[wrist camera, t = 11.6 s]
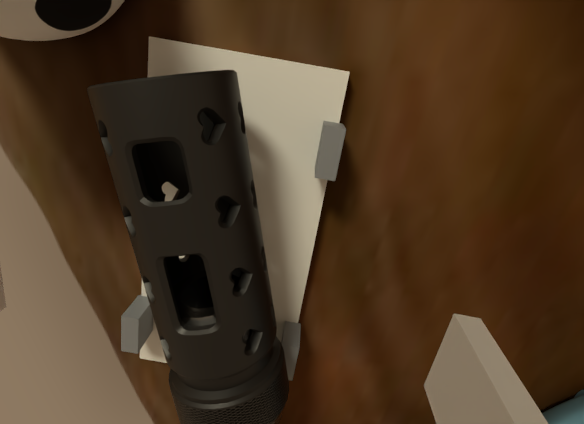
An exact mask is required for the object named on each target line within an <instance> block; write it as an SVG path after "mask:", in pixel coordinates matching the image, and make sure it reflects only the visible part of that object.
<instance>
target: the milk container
mask: <svg viewBox="0 0 584 424" xmlns="http://www.w3.org/2000/svg"><path fill="white" fill-rule="evenodd" d="M124 1H125V0H0V37H5V38H9V39H17V40H26V41H50V40H59V39H64V38H70V37H74V36H77V35H81V34H84V33H86V32H88V31H91V30H93V29H94V28H96V27H98V26H100V25H101V24H102V23H104V22H105V21H106V20H108V19H109V18H110V17H111V16H112V15H113V14H114V13H115V12H116V11H117V10H118V9H119V7H120V6H121V5H122V3H123V2H124Z"/></svg>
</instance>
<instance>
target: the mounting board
mask: <svg viewBox="0 0 584 424" xmlns="http://www.w3.org/2000/svg"><path fill="white" fill-rule="evenodd" d="M217 70H234V71H236V72H237V77H238V83H239V89H240V96H241V102H242V108H243V117H244V121H245V127H246V134H247V140H248V146H249V153H250V159H251V166H252V172H253V178H254V185H255V192H256V197H257V204H258V210H259V216H260V223H261V229H262V235H263V242H264V248H265V255H266V261H267V267H268V274H269V280H270V286H271V293H272V299H273V307H274V312H275V318H276V324H277V333H276V336H277V338H278V339H279V340H280V342H281V344H282V347H283V349H284V354H285V361H286V367H287V374H288V380H291V381H292V380H293V376H294V371H295V366H296V362H297V357H298V352H299V348H300V330H301V324H300V323H298V320H299V316H300V311H301V306H302V301H303V296H304V291H305V286H306V282H307V277H308V272H309V267H310V262H311V257H312V253H313V248H314V243H315V238H316V233H317V228H318V223H319V219H320V214H321V209H322V204H323V199H324V194H325V190H326V185H327V180H330V181H335V179H336V175H337V170H338V165H339V161H340V156H341V151H342V147H343V142H344V137H345V133H346V128H345V127H344V125H343V124H341V123H339V122H340V117H341V112H342V107H343V102H344V97H345V93H346V88H347V83H348V78H349V73H350V72H348V71H342V70H336V69H331V68H325V67H319V66H314V65H308V64H302V63H297V62H291V61H285V60H280V59H274V58H269V57H263V56H257V55H252V54H246V53H240V52H235V51H229V50H223V49H218V48H212V47H207V46H201V45H195V44H190V43H184V42H178V41H173V40H167V39H161V38H156V37H150V36H149V48H148V77H156V76H165V75H174V74H183V73H193V72H204V71H217ZM177 190H178V189H177V188H176V187H174V186H173V185H171V184H170V183H169V182H165V183H164V184H163V185H162V191H163V193H164V194H166V196H165V201H172V199H173V198H174V196H175V194H176V192H177ZM183 257H184V256H179V258H183ZM121 351H125V352H131V353H137V354H138V353H139V351H140V358H141V359H147V360H152V361H158V362H164V363H167V362H166V359H165V355H164V352H163V348H162V345H161V341H160V338H159V335H158V331H157V328H156V324H155V321H154V318H153V314H152V311H151V307H150V304H149V301H148V297H147V294H146V290H145V287H144V283H143V280H142V296H141V295H138V296H137V298H136V299H135V300H134V301H133V303H132V304H131V305H130V306H129V308H128V309H127V310H126V311H125V312H124V314H123V315H122V316H121Z"/></svg>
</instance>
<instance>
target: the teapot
mask: <svg viewBox="0 0 584 424" xmlns="http://www.w3.org/2000/svg"><path fill="white" fill-rule="evenodd" d="M542 414H543V416H544V418H545V419H546V421H547V422H548V424H584V390H581V391H579V392H578V393H577V394H576V395H575V397H574V398H572V399H570V400H568V401H565V402H563V403H561V404H559V405H557V406H555V407H553V408H551V409H549V410H547V411H545V412H543V413H542Z"/></svg>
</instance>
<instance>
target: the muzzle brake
mask: <svg viewBox="0 0 584 424" xmlns="http://www.w3.org/2000/svg"><path fill="white" fill-rule="evenodd" d="M87 92H88V96H89V99H90V103H91V106H92V109H93V113H94V116H95V120H96V123H97V126H98V130H99V133H100V136H101V140H102V143H103V147H104V150H105V154H106V157H107V161H108V164H109V167H110V171H111V174H112V178H113V181H114V184H115V188H116V191H117V195H118V198H119V202H120V205H121V208H122V212H123V215H124V218H125V222H126V225H127V229H128V232H129V236H130V239H131V243H132V246H133V249H134V253H135V256H136V260H137V263H138V266H139V270H140V273H141V277H142V280H143V283H144V287H145V290H146V294H147V297H148V301H149V304H150V307H151V311H152V314H153V318H154V321H155V324H156V328H157V331H158V335H159V338H160V341H161V345H162V348H163V352H164V355H165V359H166V362H167V363H168V365H169V366H170V368H171V370H170V373H169V385H170V389H171V393H172V396H173V400H174V403H175V406H176V410H177V413H178V417H179V420H180V423H181V424H279V422H280V420H281V417H282V413H283V408H284V406H285V403H286V401H287V398H288V392H289V380H288V374H287V367H286V361H285V354H284V349H283V347H282V344H281V342H280V340H279V339H278V338H277V336H276V333H277V324H276V318H275V312H274V307H273V299H272V293H271V286H270V280H269V274H268V267H267V261H266V255H265V248H264V242H263V235H262V229H261V223H260V216H259V210H258V204H257V197H256V192H255V185H254V178H253V172H252V166H251V159H250V153H249V146H248V140H247V134H246V127H245V121H244V117H243V108H242V102H241V96H240V89H239V83H238V77H237V72H236V71H234V70H217V71H204V72H193V73H183V74H174V75H165V76H156V77H148V78H140V79H132V80H124V81H117V82H110V83H104V84H97V85H92V86H89V87H88V88H87ZM165 182H169V183H170V184H171V185H173V186H174V187H176V188H177V189H178V190H177V192H176V194H175V196H174V198H173V199H172V201H165V196H166V194H164V193H163V191H162V185H163V184H164V183H165ZM179 256H184V257H183V258H179Z"/></svg>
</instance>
